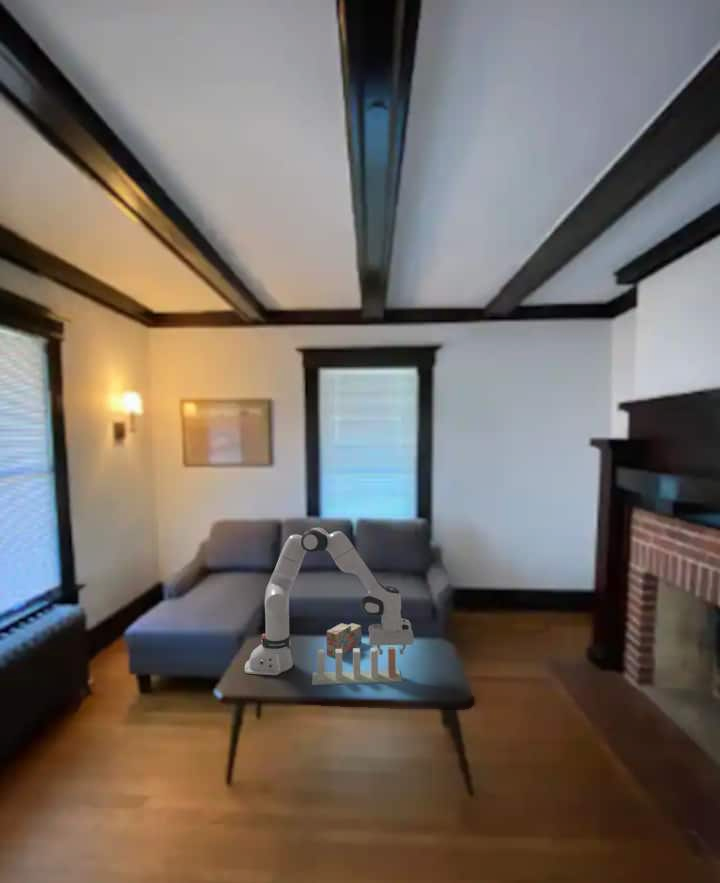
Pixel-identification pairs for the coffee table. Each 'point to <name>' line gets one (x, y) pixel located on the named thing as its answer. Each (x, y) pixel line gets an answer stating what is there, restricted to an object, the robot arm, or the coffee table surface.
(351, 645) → the stack of blocks
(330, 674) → the mat
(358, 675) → the domino
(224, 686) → the coffee table surface
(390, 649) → the domino
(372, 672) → the domino
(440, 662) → the coffee table surface
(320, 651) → the domino
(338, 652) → the domino
